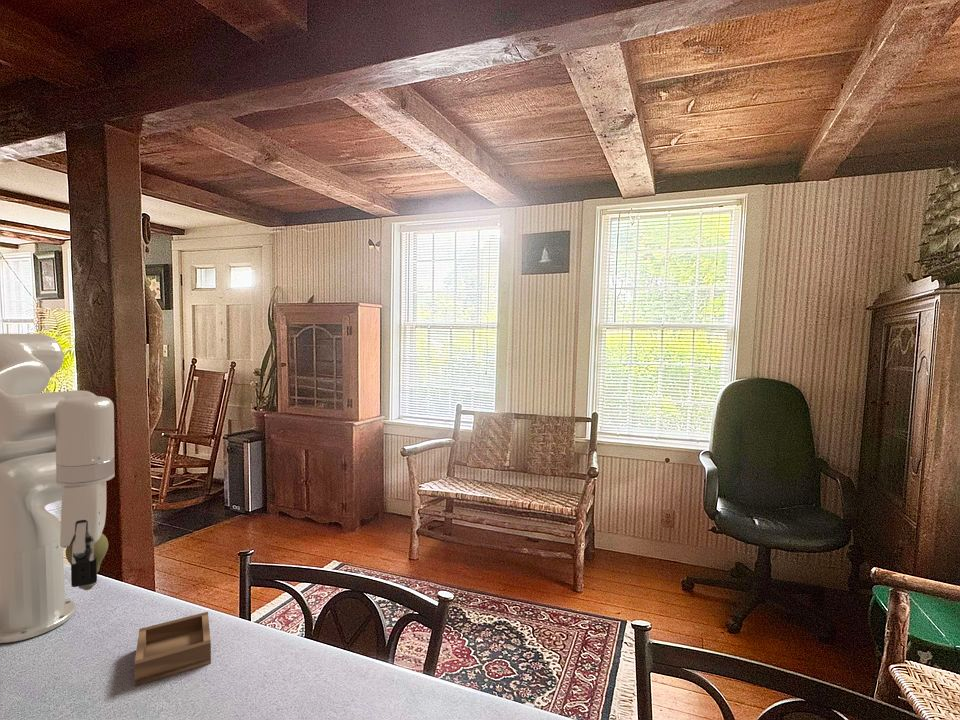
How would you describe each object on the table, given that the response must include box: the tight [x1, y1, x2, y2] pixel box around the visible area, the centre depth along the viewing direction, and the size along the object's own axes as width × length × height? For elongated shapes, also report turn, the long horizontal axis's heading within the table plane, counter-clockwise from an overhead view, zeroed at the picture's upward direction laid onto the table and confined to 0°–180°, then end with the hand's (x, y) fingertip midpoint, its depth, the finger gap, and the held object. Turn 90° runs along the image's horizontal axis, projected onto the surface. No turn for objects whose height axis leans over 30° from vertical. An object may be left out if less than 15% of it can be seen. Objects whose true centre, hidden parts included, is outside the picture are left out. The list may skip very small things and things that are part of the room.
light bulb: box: [65, 533, 109, 591], centre depth 81 cm, size 6×6×10 cm
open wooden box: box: [133, 611, 212, 687], centre depth 82 cm, size 10×10×4 cm
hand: (87, 574), depth 81 cm, fingers closed on light bulb, 5 cm apart
